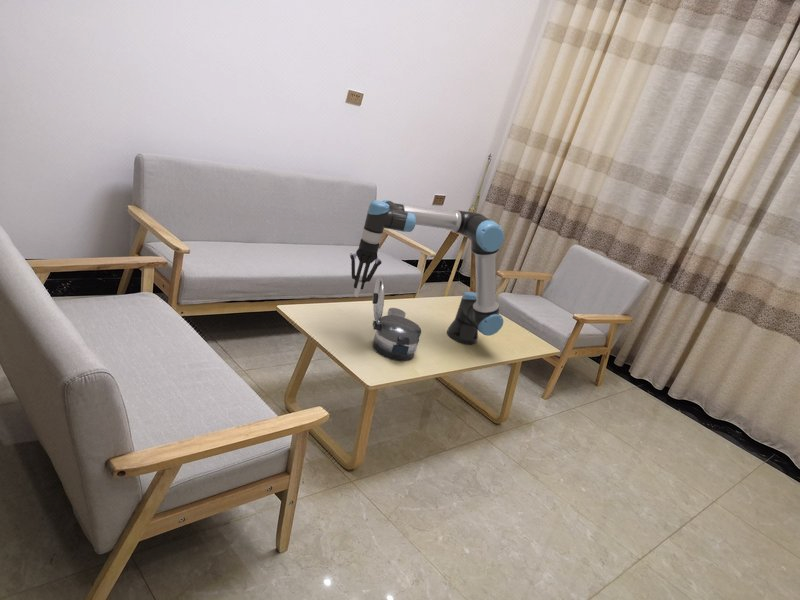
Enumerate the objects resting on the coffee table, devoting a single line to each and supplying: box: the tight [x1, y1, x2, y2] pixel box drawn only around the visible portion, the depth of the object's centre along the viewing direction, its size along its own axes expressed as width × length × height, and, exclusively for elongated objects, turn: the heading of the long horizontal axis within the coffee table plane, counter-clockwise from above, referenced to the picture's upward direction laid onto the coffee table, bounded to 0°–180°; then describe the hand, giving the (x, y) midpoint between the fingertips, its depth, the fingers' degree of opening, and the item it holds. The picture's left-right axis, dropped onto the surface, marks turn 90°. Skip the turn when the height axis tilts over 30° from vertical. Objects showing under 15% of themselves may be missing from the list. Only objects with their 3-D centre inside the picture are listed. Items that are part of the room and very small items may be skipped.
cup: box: [386, 307, 407, 318], centre depth 246 cm, size 8×8×10 cm
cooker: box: [372, 315, 422, 362], centre depth 228 cm, size 20×23×12 cm
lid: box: [372, 276, 385, 326], centre depth 220 cm, size 20×18×4 cm
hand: (356, 295), depth 218 cm, fingers closed
